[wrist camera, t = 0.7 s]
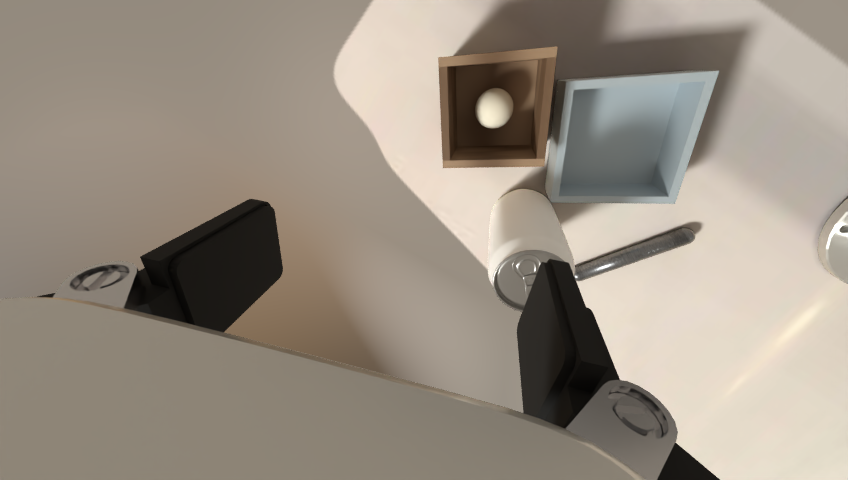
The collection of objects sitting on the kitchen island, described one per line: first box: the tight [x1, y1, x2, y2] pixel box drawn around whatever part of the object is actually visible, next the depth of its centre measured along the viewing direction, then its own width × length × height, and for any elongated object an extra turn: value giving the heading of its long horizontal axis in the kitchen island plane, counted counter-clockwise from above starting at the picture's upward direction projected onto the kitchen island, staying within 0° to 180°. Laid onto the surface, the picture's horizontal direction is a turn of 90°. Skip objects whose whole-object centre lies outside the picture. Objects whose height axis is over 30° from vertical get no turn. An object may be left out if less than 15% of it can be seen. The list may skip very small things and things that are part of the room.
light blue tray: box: [545, 71, 719, 204], centre depth 26 cm, size 10×10×4 cm
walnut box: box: [438, 46, 558, 168], centre depth 26 cm, size 8×8×6 cm
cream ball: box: [475, 88, 513, 129], centre depth 26 cm, size 3×3×3 cm
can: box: [488, 189, 575, 312], centre depth 28 cm, size 6×6×12 cm
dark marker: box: [574, 228, 695, 281], centre depth 32 cm, size 12×2×2 cm, turn 124°
